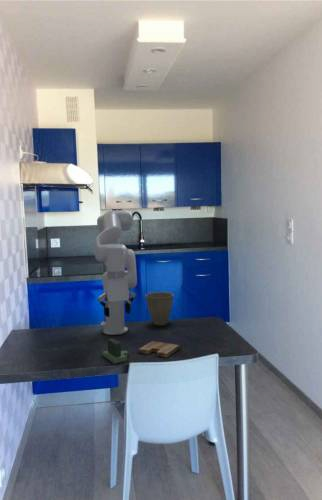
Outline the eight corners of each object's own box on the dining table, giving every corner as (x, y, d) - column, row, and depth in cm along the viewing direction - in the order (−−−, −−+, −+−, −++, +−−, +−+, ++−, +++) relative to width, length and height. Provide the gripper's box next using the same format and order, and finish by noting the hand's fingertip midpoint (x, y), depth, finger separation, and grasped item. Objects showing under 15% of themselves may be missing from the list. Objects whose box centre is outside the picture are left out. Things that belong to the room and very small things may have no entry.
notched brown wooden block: (138, 352, 198) (138, 348, 198) (152, 344, 209) (152, 341, 209) (166, 357, 192) (166, 353, 191) (179, 349, 202) (179, 345, 202)
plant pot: (179, 322, 244) (179, 294, 242) (161, 329, 233) (160, 299, 231) (159, 318, 254) (158, 290, 252) (140, 324, 243) (139, 295, 241)
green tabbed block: (102, 355, 196) (101, 338, 195) (121, 351, 201) (120, 335, 200) (114, 363, 186) (113, 346, 185) (133, 359, 191) (132, 342, 190)
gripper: (130, 272, 199) (131, 310, 200) (93, 276, 190) (95, 316, 192) (138, 274, 192) (139, 313, 194) (100, 278, 183) (102, 319, 185)
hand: (117, 314), depth 193 cm, fingers open, 9 cm apart
